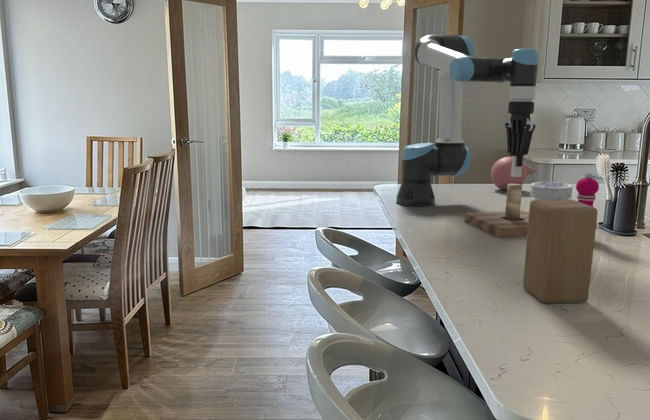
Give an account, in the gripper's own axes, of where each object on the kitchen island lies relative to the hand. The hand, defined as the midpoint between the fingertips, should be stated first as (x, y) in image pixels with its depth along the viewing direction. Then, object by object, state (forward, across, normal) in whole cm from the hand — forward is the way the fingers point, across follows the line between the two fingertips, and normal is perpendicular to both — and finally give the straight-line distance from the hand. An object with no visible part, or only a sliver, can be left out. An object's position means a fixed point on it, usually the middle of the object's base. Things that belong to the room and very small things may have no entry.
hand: (515, 176), depth 171 cm
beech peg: (+17, 0, 0) cm, 17 cm away
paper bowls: (+17, +33, -38) cm, 53 cm away
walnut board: (+17, 0, 0) cm, 17 cm away
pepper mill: (+17, -18, -12) cm, 27 cm away
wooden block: (+17, -57, +26) cm, 65 cm away
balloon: (+17, +64, -41) cm, 78 cm away
